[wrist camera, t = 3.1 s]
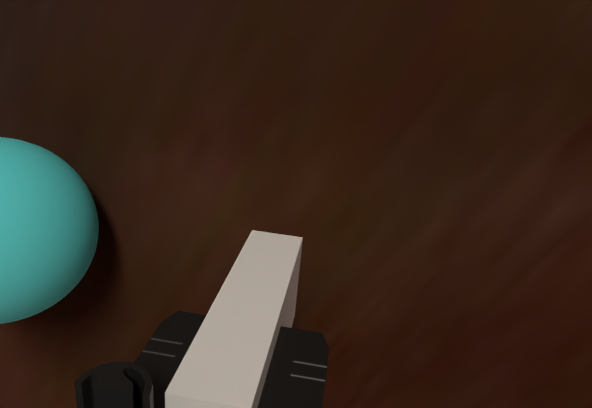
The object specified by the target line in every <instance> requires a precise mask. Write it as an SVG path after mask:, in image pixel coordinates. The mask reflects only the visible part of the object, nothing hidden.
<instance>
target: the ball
mask: <svg viewBox="0 0 592 408" xmlns="http://www.w3.org/2000/svg"><path fill="white" fill-rule="evenodd" d="M98 235H99V221H98V214H97V209H96V206H95V202H94V199H93V197H92V194H91V192H90V191H89V189H88V187H87V185H86V184H85V182H84V181H83V179H82V178H81V177H80V175H79V174H78V173H77V172H76V171H75V170H74V169H73V168H72V167H71V166H70V165H69V164H68V163H66V162H65V161H64V160H63V159H61V158H60V157H58V156H57V155H55V154H53V153H52V152H50V151H49V150H46V149H44V148H42V147H40V146H37V145H34V144H31V143H28V142H25V141H22V140H17V139H12V138H3V137H0V324H2V323H8V322H14V321H18V320H21V319H25V318H28V317H30V316H33V315H36V314H38V313H40V312H42V311H44V310H46V309H48V308H50V307H51V306H53V305H54V304H56V303H57V302H59V301H60V300H61V299H63V298H64V297H65V296H66V295H67V294H68V293H69V292H71V291H72V290H73V288H74V287H75V286H76V285H77V284H78V283H79V282H80V280H81V279H82V278H83V276H84V275H85V273H86V271H87V270H88V268H89V266H90V264H91V262H92V260H93V257H94V254H95V251H96V248H97V242H98Z"/></svg>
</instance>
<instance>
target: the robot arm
mask: <svg viewBox="0 0 592 408" xmlns="http://www.w3.org/2000/svg"><path fill="white" fill-rule="evenodd" d="M302 239H303V238H302V237H296V236H289V235H282V234H275V233H268V232H261V231H254V230H252V232H251V233H250V235H249V237H248V239H247V241H246V243H245V245H244V246H243V248H242V250H241V252H240V254H239V256H238V258H237V259H236V261H235V263H234V265H233V267H232V269H231V271H230V273H229V274H228V276H227V278H226V280H225V282H224V284H223V286H222V287H221V289H220V291H219V293H218V295H217V297H216V299H215V300H214V302H213V304H212V306H211V308H210V310H209V312H208V314H207V315H200V314H194V313H188V312H182V311H177V312H176V313H174V314H173V315H171V316H170V317H168V318H167V319H165V320H164V321H163V322H161V324H160V325H159V327H158V328H157V330H156V331H155V333H154V334H153V336H152V338H151V340H149V342H148V343H147V345H146V346H145V348H144V349H143V352H141V354H140V355H139V357H138V358H137V360H136V361H135V363H134V364H133V363H130V362H112V363H107V364H103V365H99V366H97V367H95V368H93V369H91V370H89V371H87V372H85V373H84V374H83V375H82V376H81V377H79V378H78V379H77V380H76V381H75V390H76V399H77V408H322V401H323V394H324V386H325V378H326V370H327V362H328V354H329V347H328V345H327V343H326V340H325V338H324V336H323V334H322V333H319V332H313V331H307V330H300V329H294V328H292V324H293V320H294V316H295V307H296V297H297V287H298V278H299V268H300V259H301V249H302Z"/></svg>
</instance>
